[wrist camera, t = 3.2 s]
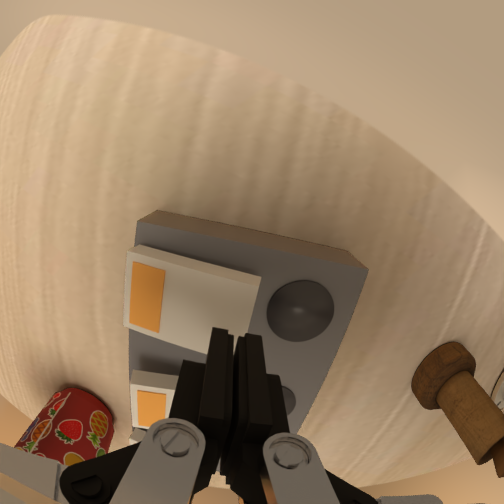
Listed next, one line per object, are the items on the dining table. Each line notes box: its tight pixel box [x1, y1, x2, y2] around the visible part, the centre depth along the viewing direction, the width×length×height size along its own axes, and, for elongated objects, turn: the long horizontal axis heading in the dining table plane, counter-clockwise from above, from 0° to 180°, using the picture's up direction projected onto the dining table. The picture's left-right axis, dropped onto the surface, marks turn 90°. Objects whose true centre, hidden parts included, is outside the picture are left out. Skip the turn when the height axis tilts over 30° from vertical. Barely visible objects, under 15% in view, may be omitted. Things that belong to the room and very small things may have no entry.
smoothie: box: [14, 388, 114, 466], centre depth 12 cm, size 8×8×20 cm
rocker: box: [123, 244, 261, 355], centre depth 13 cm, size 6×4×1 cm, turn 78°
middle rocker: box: [130, 369, 179, 429], centre depth 15 cm, size 6×4×1 cm, turn 77°
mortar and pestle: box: [412, 342, 504, 478], centre depth 13 cm, size 7×6×18 cm
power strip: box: [129, 210, 369, 471], centre depth 18 cm, size 12×20×4 cm, turn 167°
